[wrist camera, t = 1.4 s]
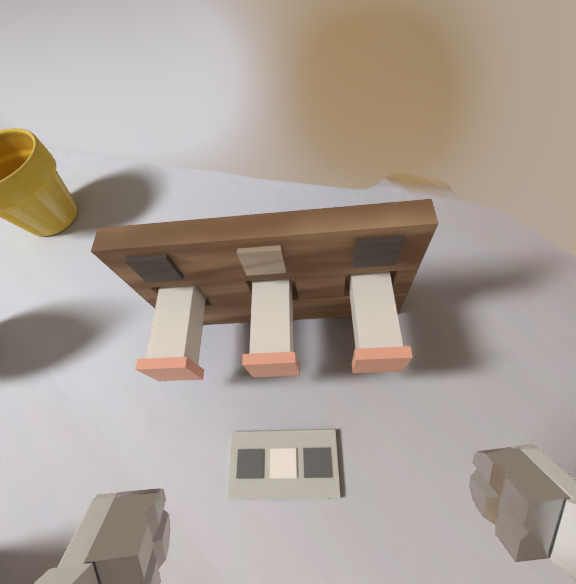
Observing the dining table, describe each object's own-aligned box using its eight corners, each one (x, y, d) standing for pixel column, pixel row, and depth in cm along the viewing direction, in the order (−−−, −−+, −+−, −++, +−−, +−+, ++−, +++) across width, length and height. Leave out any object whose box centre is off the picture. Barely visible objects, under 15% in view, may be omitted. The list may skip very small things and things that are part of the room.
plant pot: (56, 180, 48) (-3, 118, 40) (107, 200, 45) (54, 138, 37) (1, 233, 45) (-78, 177, 36) (52, 259, 41) (-21, 205, 33)
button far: (203, 379, 27) (185, 367, 24) (159, 381, 28) (135, 369, 24) (212, 285, 31) (198, 264, 28) (174, 288, 32) (156, 267, 28)
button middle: (299, 375, 27) (295, 362, 23) (253, 377, 27) (242, 364, 24) (296, 280, 31) (292, 257, 27) (256, 282, 31) (247, 260, 28)
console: (398, 317, 33) (439, 228, 20) (174, 329, 35) (89, 256, 23) (388, 262, 36) (419, 156, 23) (182, 277, 38) (111, 186, 26)
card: (340, 497, 26) (340, 498, 26) (229, 498, 27) (227, 498, 27) (335, 429, 29) (335, 429, 28) (233, 432, 30) (231, 431, 29)
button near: (402, 371, 26) (412, 357, 23) (352, 373, 26) (355, 359, 23) (385, 274, 30) (392, 250, 27) (342, 276, 30) (344, 253, 27)
